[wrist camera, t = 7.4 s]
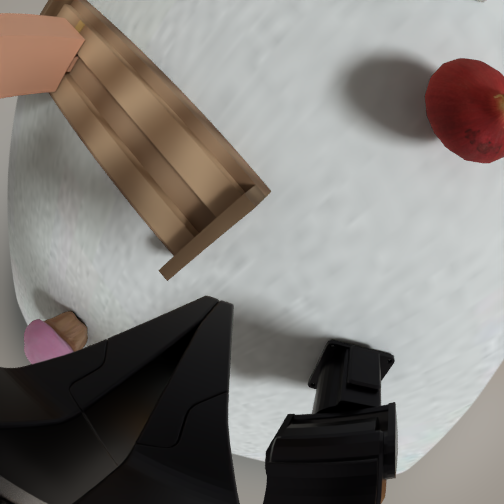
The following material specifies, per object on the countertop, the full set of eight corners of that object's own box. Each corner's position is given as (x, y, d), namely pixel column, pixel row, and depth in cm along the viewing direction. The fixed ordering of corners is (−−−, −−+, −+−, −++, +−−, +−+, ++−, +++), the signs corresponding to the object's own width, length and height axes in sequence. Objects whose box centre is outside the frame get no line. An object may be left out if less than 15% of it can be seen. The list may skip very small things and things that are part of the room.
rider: (91, 40, 16) (-7, 36, 8) (61, 91, 19) (-30, 104, 10) (71, 18, 15) (-16, 13, 7) (44, 65, 18) (-39, 74, 10)
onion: (496, 139, 13) (565, 156, 6) (434, 166, 16) (487, 196, 9) (462, 60, 12) (521, 35, 5) (396, 85, 14) (432, 60, 7)
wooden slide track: (271, 191, 20) (255, 207, 16) (191, 258, 24) (167, 280, 21) (82, -3, 16) (54, -9, 12) (41, 64, 20) (14, 66, 17)
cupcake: (56, 317, 37) (14, 353, 29) (62, 286, 33) (10, 326, 24) (95, 356, 38) (56, 398, 29) (107, 332, 33) (59, 381, 25)
